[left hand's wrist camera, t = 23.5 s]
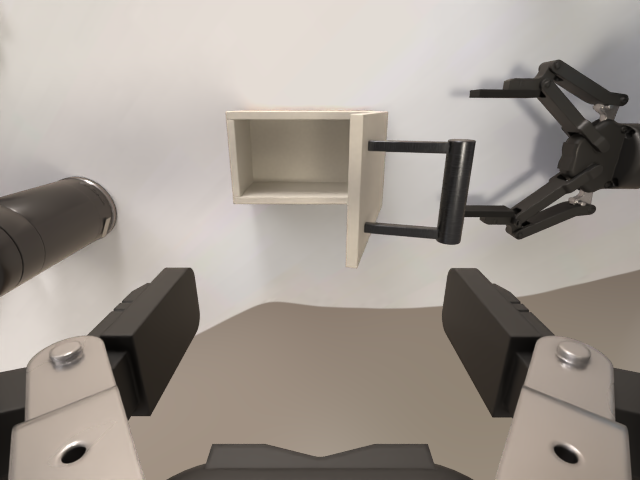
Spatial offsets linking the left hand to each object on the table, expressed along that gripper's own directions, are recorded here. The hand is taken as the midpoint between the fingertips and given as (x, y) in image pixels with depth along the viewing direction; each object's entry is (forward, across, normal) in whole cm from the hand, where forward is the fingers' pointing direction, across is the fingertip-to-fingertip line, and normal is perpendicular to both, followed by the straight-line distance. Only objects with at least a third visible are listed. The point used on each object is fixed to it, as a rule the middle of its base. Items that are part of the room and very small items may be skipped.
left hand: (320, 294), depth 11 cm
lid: (+21, -4, 0) cm, 22 cm away
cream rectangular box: (+40, +2, 0) cm, 40 cm away
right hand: (+33, -17, 0) cm, 37 cm away
